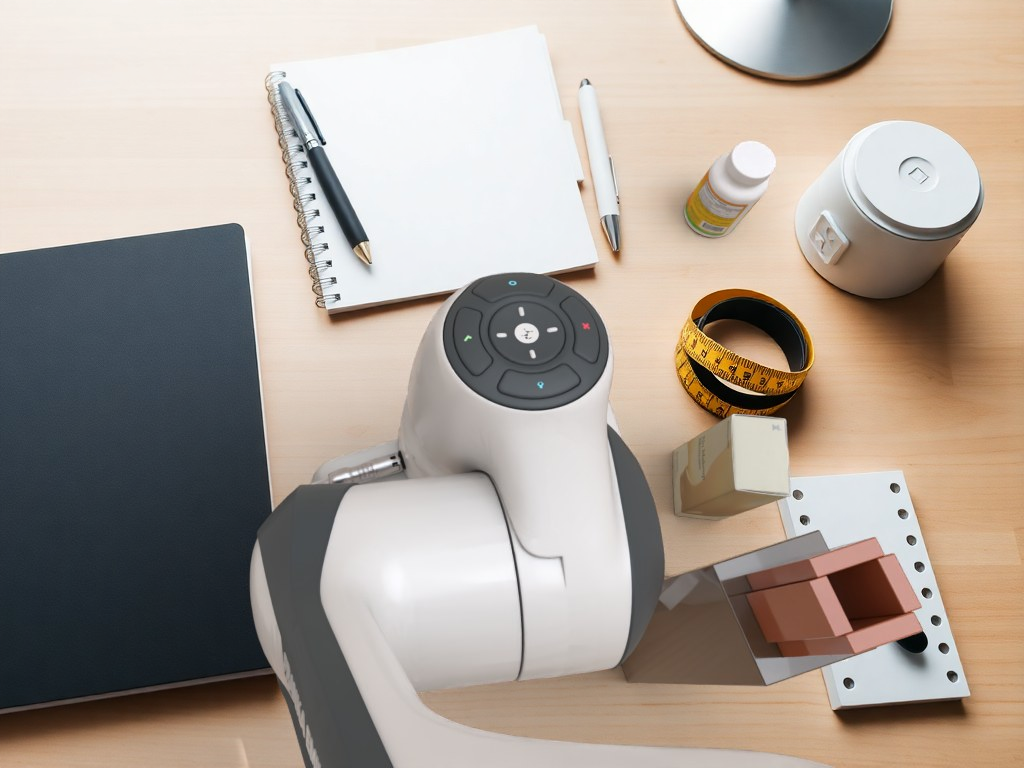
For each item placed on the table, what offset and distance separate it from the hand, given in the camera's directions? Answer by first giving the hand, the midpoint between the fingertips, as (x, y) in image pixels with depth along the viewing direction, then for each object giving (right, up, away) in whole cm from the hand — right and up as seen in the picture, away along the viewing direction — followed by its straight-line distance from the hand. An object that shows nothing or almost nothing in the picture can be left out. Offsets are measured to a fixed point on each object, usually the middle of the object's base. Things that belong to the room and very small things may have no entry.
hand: (446, 487), depth 62 cm
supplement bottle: (+29, +25, +21) cm, 43 cm away
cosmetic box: (+24, -2, +12) cm, 27 cm away
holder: (+18, -13, +8) cm, 24 cm away
